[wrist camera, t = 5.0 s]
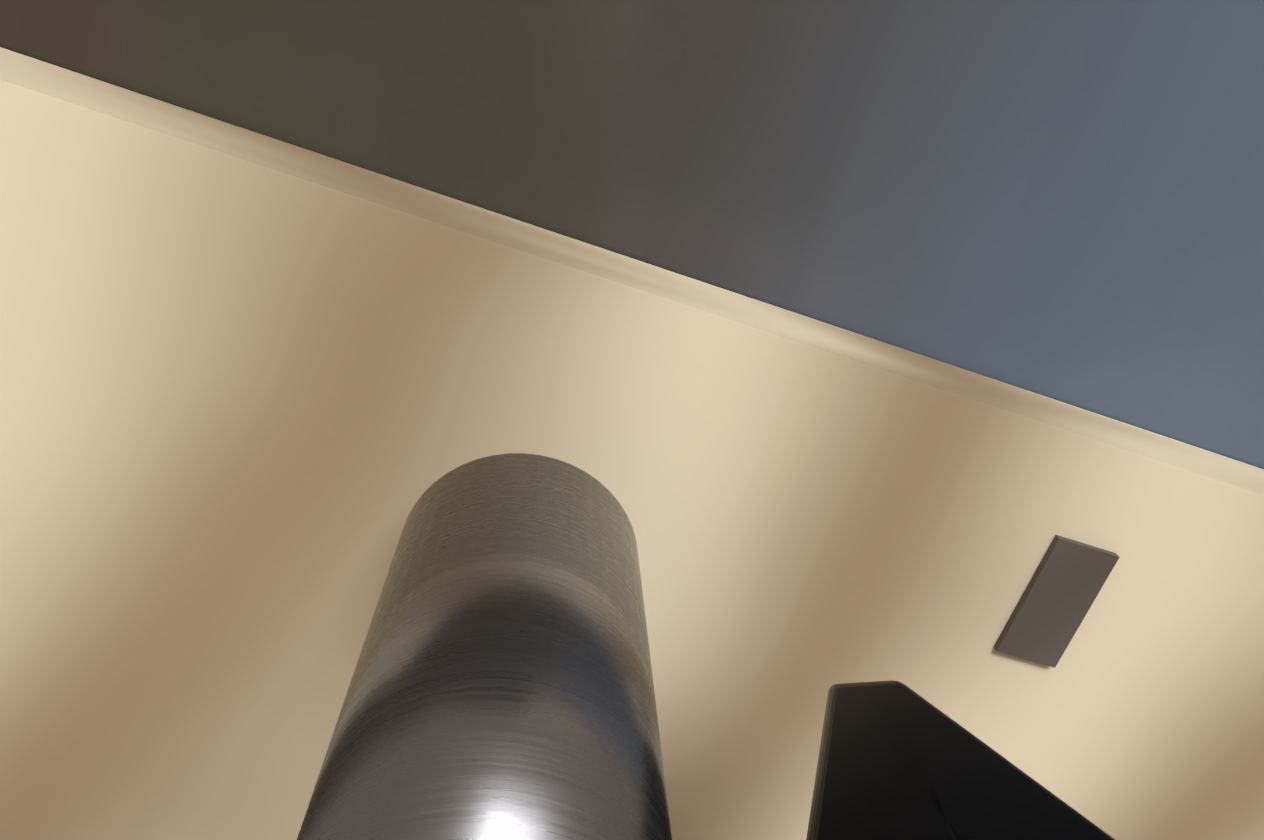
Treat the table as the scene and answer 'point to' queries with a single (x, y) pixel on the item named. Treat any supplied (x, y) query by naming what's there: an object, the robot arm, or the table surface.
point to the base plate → (576, 434)
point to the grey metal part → (502, 672)
